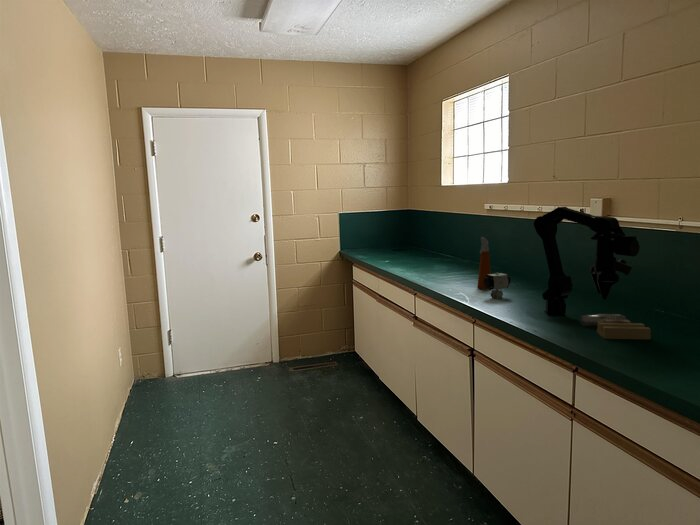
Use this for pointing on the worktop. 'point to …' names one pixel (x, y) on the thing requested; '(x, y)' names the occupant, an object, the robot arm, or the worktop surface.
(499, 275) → the pneumatic valve
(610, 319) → the bore beam
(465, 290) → the worktop surface
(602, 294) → the robot arm
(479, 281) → the spray bottle
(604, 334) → the v block
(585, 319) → the axle
